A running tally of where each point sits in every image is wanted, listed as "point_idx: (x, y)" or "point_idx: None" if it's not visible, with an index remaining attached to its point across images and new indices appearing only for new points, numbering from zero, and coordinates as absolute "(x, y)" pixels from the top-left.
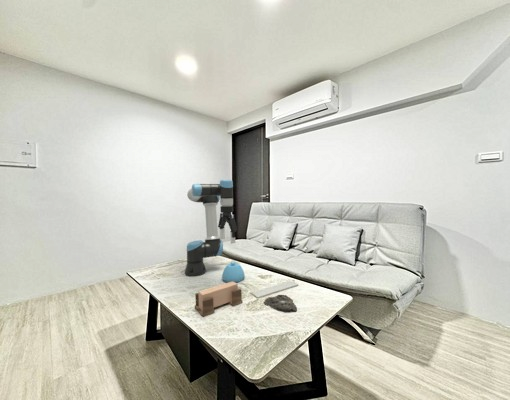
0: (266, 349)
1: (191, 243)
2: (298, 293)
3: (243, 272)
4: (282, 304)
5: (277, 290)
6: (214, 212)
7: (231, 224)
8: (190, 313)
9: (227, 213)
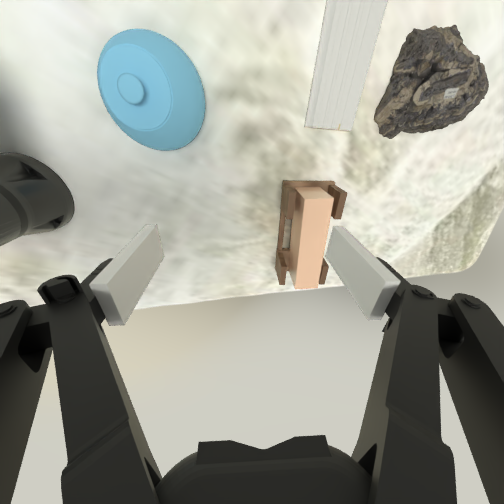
0: (463, 232)
1: None
2: None
3: (178, 50)
4: (452, 107)
5: (379, 18)
6: None
7: (464, 413)
8: (287, 278)
9: None
